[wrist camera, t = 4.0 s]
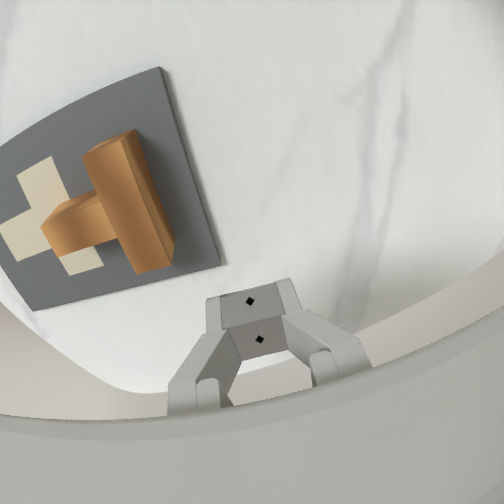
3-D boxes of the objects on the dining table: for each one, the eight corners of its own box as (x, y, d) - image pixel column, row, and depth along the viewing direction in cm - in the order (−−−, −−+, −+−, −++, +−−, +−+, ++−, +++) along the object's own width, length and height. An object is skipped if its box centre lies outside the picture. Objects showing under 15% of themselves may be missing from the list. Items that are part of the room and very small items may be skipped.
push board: (160, 66, 18) (158, 66, 17) (220, 258, 29) (221, 265, 28) (-38, 177, 19) (-43, 181, 18) (35, 306, 29) (32, 311, 28)
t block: (134, 128, 20) (120, 140, 16) (175, 237, 25) (171, 265, 22) (43, 169, 20) (20, 187, 17) (90, 262, 26) (77, 290, 22)
